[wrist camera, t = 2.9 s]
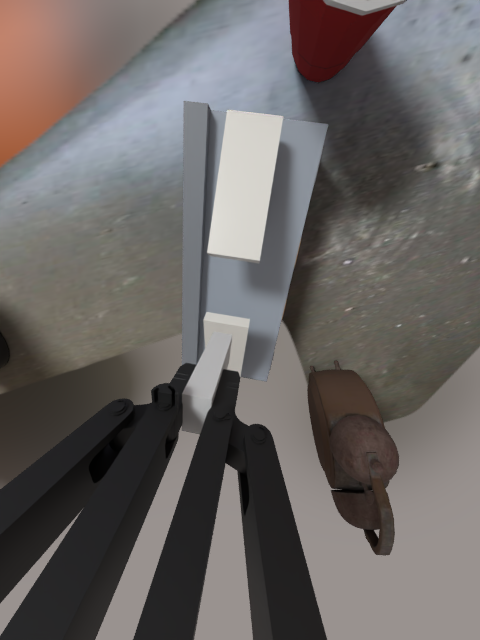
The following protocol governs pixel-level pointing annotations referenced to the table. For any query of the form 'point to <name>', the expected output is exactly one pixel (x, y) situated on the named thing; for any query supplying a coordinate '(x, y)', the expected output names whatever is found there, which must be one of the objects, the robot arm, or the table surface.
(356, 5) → the plastic cup
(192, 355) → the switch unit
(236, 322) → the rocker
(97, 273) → the table surface
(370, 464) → the alarm clock
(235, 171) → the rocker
